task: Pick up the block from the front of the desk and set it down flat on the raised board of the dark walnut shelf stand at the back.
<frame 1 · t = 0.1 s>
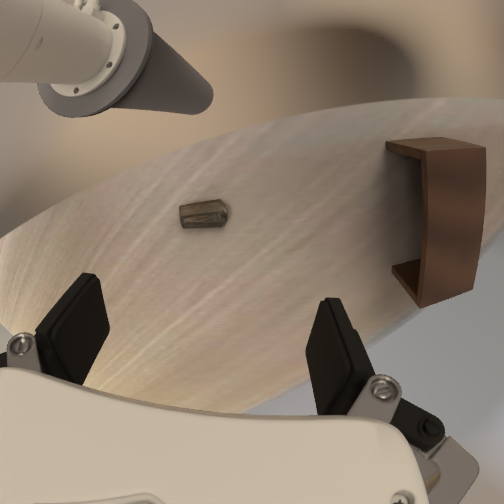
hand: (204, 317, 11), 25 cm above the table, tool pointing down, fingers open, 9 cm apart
block: (205, 213, 36), on the table
shelf: (419, 206, 35), on the table
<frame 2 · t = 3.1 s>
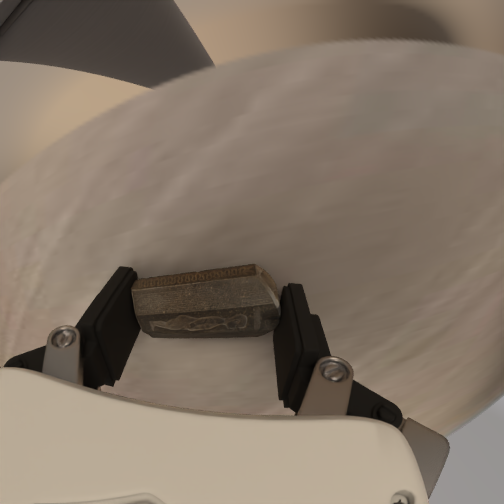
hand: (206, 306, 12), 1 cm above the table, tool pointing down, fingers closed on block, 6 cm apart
block: (210, 296, 12), on the table, touching gripper
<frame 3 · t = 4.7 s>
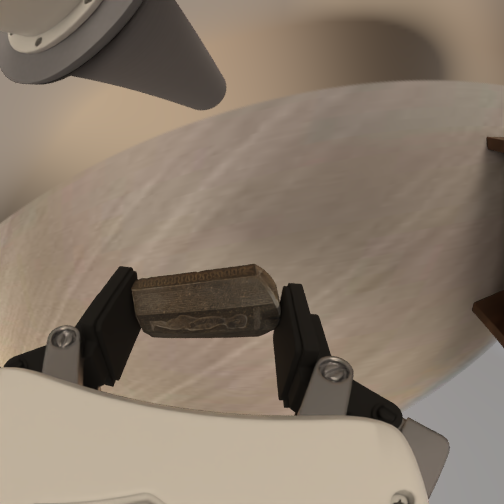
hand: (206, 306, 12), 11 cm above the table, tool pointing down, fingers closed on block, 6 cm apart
block: (210, 296, 12), point 10 cm above the table, touching gripper
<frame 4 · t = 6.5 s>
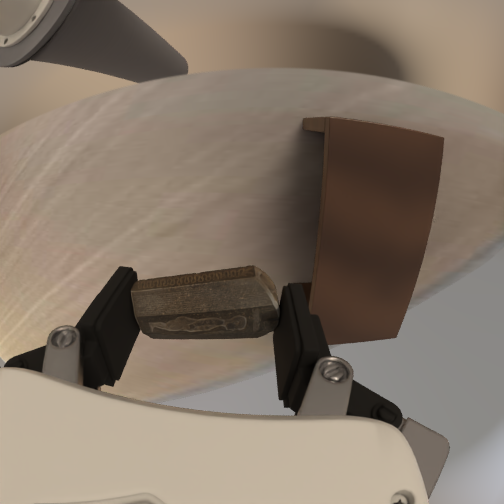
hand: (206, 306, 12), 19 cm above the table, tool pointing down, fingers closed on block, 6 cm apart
block: (210, 297, 12), point 18 cm above the table, touching gripper
shelf: (342, 213, 30), on the table
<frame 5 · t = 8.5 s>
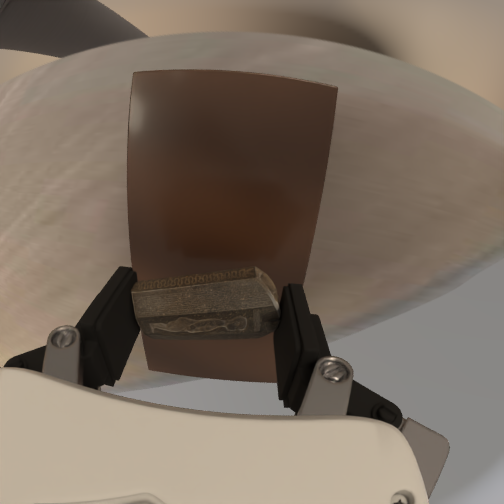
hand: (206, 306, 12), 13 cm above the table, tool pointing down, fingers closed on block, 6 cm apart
block: (210, 298, 12), point 13 cm above the table, touching gripper
shelf: (228, 210, 24), on the table
when the fingers open (10 cm above the table, at t = 9.9 s): block stays where it is, resting on shelf.
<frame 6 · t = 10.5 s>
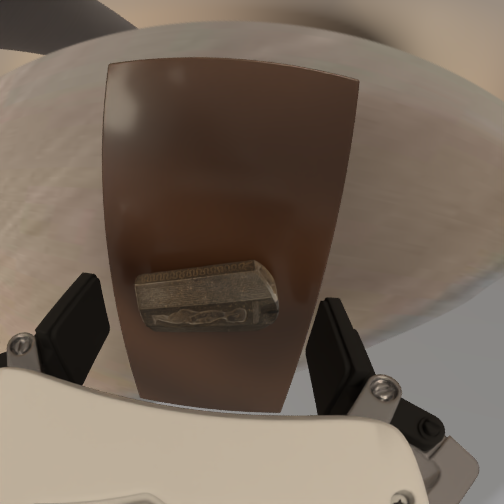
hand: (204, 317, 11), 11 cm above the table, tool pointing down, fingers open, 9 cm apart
block: (211, 291, 13), point 9 cm above the table, touching shelf
shelf: (226, 221, 21), on the table
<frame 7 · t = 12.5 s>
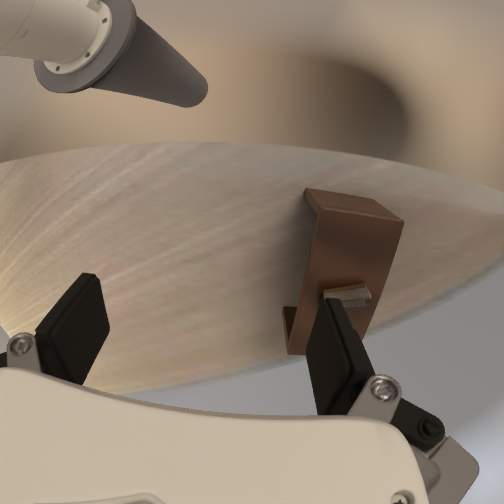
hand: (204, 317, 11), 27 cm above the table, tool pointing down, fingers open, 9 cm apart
block: (343, 295, 32), point 9 cm above the table, touching shelf
shelf: (326, 259, 40), on the table
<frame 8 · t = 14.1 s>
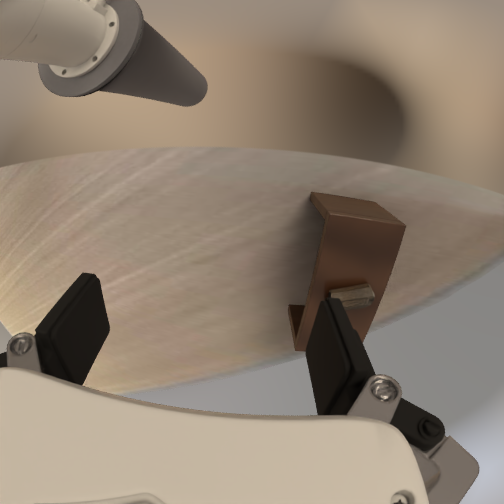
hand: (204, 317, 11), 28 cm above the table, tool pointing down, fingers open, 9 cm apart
block: (348, 294, 34), point 9 cm above the table, touching shelf
shelf: (330, 259, 42), on the table
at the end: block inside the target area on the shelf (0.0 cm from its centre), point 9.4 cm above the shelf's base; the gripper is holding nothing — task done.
